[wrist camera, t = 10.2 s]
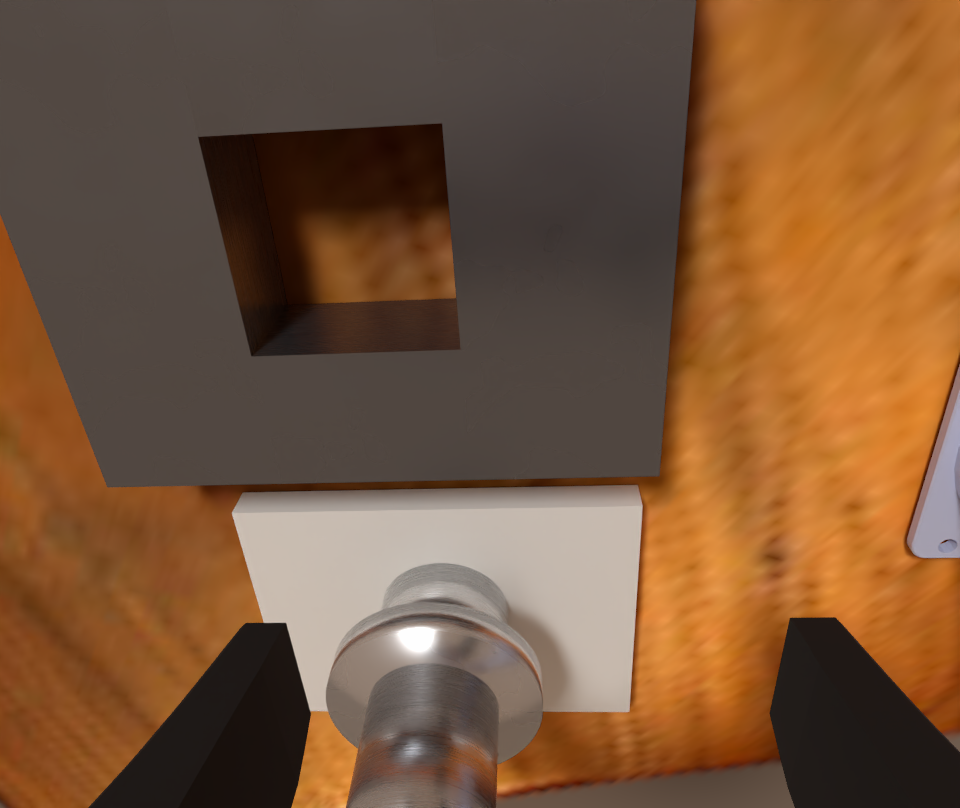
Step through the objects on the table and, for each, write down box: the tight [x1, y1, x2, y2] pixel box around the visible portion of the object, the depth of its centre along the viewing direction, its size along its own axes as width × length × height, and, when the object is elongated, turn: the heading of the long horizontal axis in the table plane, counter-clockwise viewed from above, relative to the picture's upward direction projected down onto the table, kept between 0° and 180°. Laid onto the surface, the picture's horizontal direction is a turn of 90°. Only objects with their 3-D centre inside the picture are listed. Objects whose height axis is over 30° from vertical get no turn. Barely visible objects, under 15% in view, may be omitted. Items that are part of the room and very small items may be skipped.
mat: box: [232, 485, 643, 712], centre depth 24 cm, size 12×9×1 cm
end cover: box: [326, 563, 543, 808], centre depth 20 cm, size 6×6×9 cm
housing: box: [0, 0, 696, 487], centre depth 17 cm, size 14×12×3 cm
